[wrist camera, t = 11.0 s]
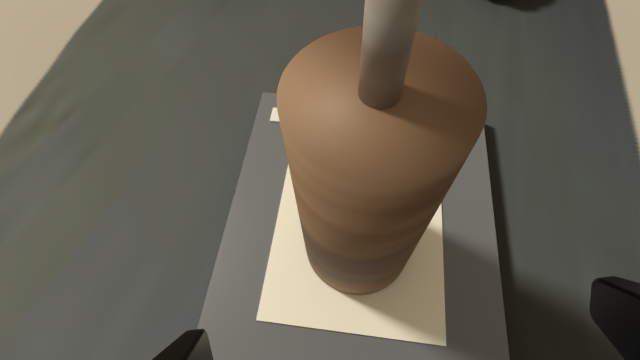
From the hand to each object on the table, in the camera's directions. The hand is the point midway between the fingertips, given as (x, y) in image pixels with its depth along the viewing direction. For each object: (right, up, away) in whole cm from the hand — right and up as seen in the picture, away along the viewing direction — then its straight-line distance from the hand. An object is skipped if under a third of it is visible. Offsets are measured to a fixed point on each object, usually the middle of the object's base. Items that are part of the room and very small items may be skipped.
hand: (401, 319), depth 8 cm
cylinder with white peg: (0, 0, +9) cm, 9 cm away
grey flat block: (0, 0, +10) cm, 10 cm away
